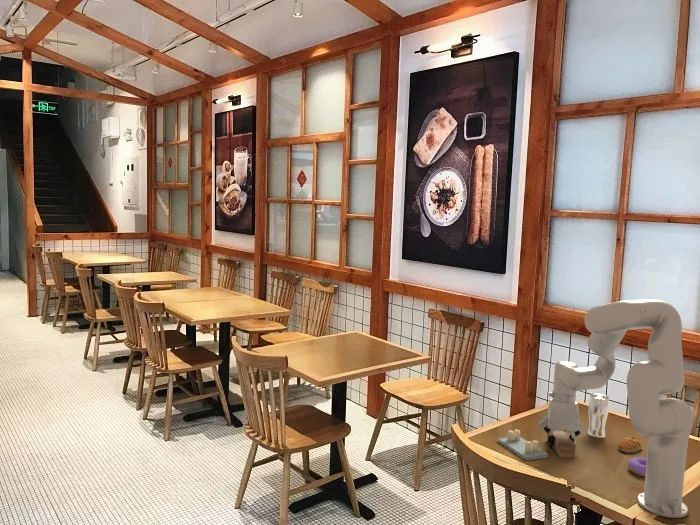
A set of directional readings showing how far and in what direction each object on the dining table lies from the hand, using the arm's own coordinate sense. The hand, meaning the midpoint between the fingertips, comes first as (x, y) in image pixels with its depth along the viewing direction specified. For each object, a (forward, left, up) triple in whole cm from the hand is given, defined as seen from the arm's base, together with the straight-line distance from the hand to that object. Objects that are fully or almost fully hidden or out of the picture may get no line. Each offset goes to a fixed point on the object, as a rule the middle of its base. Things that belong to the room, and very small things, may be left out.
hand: (560, 446), depth 201 cm
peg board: (-5, +13, -1) cm, 14 cm away
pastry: (+7, -24, -1) cm, 25 cm away
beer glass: (+18, -15, -1) cm, 23 cm away
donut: (-11, -24, -1) cm, 27 cm away
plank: (0, 0, -1) cm, 1 cm away
